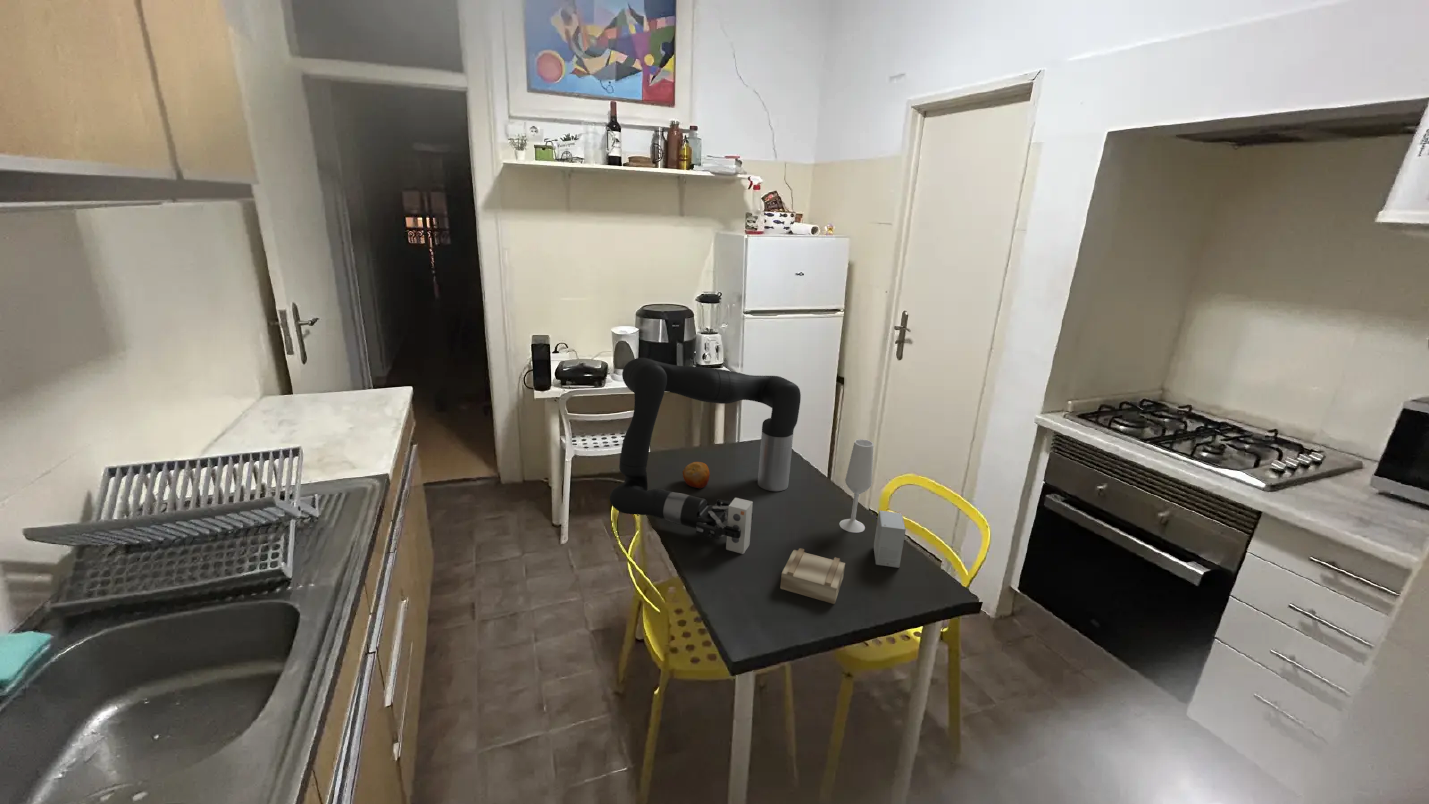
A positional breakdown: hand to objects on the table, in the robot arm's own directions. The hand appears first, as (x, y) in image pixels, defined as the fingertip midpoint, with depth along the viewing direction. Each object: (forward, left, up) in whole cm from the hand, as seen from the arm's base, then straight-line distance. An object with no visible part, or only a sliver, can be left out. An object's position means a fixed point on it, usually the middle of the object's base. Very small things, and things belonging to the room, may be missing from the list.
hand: (746, 525), depth 137 cm
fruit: (-25, -24, -7) cm, 36 cm away
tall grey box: (0, -2, -7) cm, 7 cm away
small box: (-12, +32, -7) cm, 35 cm away
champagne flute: (-23, +22, -7) cm, 33 cm away
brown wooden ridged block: (+6, +18, -7) cm, 20 cm away
